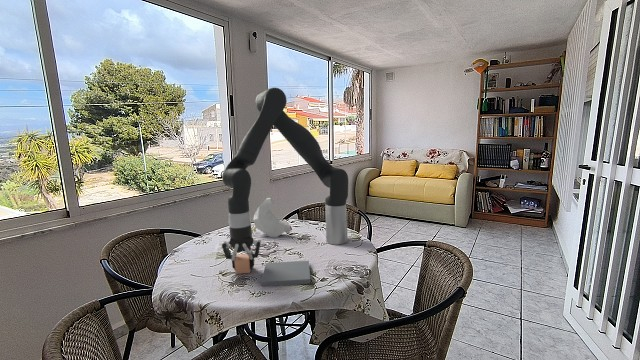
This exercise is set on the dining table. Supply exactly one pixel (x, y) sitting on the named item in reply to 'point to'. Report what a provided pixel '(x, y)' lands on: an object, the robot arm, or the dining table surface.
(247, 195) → the robot arm
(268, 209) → the chicken
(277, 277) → the mat
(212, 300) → the dining table surface
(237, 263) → the cube
